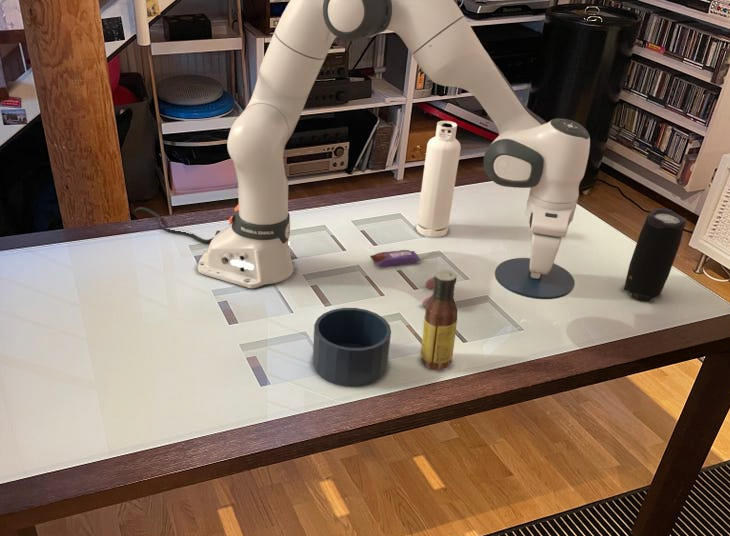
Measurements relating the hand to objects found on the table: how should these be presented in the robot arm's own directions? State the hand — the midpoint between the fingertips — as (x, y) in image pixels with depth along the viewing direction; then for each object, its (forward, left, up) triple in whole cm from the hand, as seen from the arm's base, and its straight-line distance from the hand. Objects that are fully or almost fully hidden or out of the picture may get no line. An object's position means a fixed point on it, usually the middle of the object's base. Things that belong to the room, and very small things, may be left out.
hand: (535, 271), depth 152 cm
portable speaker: (+26, +26, -15) cm, 40 cm away
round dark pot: (-32, -22, -15) cm, 42 cm away
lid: (0, 0, -2) cm, 2 cm away
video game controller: (-19, +8, -15) cm, 26 cm away
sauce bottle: (-16, -16, -15) cm, 27 cm away
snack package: (-31, +22, -15) cm, 41 cm away
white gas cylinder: (-25, +42, -15) cm, 51 cm away
